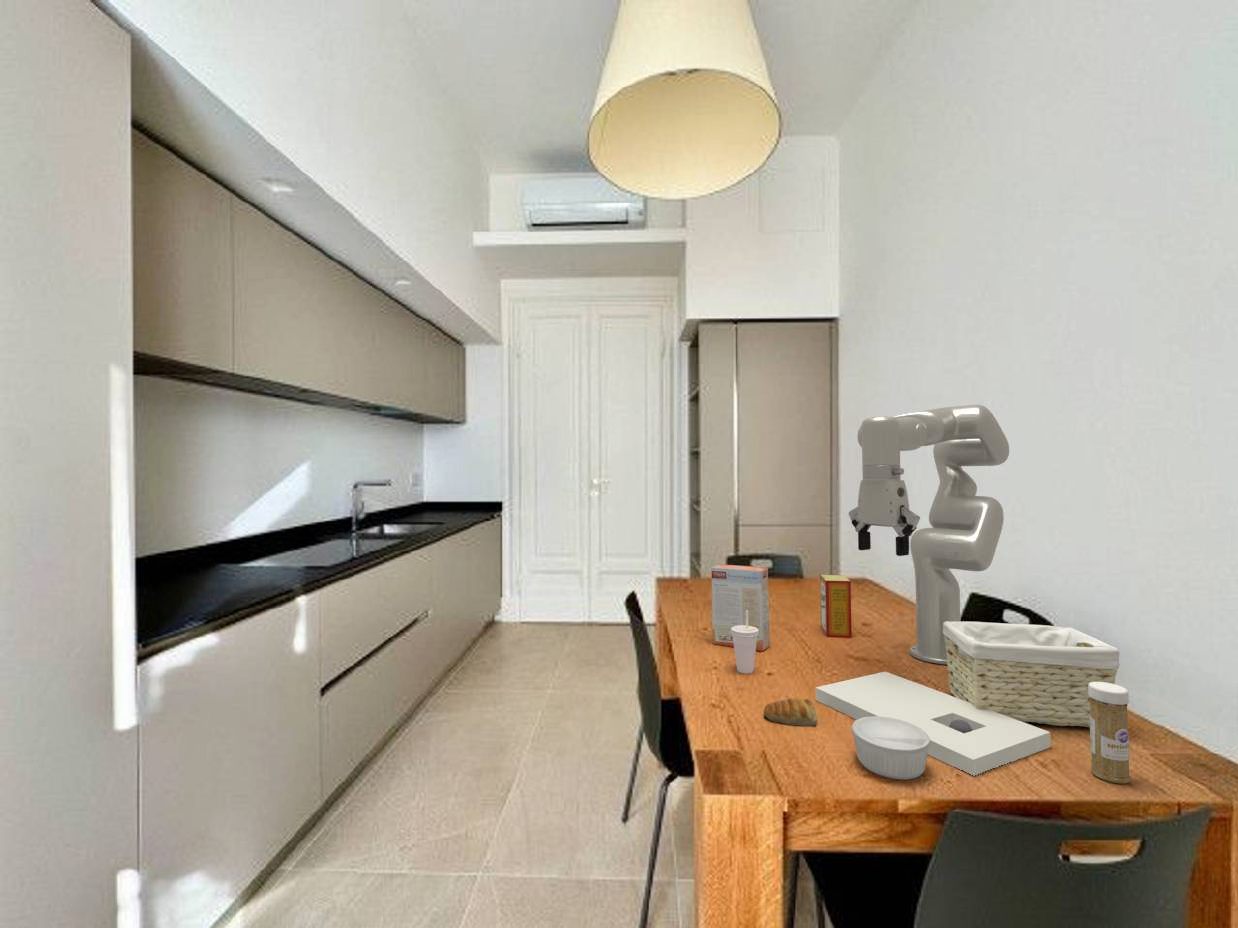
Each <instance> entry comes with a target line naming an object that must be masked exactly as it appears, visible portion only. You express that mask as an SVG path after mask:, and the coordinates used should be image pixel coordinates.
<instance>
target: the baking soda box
mask: <svg viewBox="0 0 1238 928" xmlns="http://www.w3.org/2000/svg"><path fill="white" fill-rule="evenodd" d="M819 587H820V588H819V589H820V591H819V592H820V595H819V596H820V597H819V598H820V628H822V629H821V630H822V631H823V634H824V636H826V638H837V639H839V638H840V639H841V638H842V639H852V590H851V589H852V585H851V580H850V579H849V578H847V576H845V575H844V574H819Z"/></svg>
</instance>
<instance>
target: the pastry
mask: <svg viewBox="0 0 1238 928" xmlns="http://www.w3.org/2000/svg"><path fill="white" fill-rule="evenodd" d="M814 703H815V702H814V701H813V699H810V698H809V697H807V698H805V699H803V698H797V697H796V698H793V697H789V698H787V699H783V700H780V701H779V700H777V701H776V700H775V701H773V702H771V703H768V704H766V705H765V706H764V709H763V714H764V716H765V717H766V718H767V719H768V720H769V721H771V722H775V723H776V722H777V723H781V724H785V725H789V726H792V725H793V726H801V727H802V726H804V727H807V726H808V727H812V726H816V725H817V723H818V716H817V712H816V709H815V704H814Z"/></svg>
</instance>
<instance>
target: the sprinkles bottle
mask: <svg viewBox="0 0 1238 928" xmlns="http://www.w3.org/2000/svg"><path fill="white" fill-rule="evenodd" d="M1088 695H1089V696H1090V697H1089V699H1090V727H1089V734H1090V735H1089V736H1090V737H1089V739H1090V744H1089V745H1090V752H1091V753H1090V754H1091V767H1090V772H1091V773H1092V774H1093V775H1094V776H1096V777H1097V778H1099V779H1101V780H1103V781H1106V782H1109V783H1114V784H1128V783H1130V781H1131V776H1130V763H1129V762H1130V739H1129V722H1128V717H1129V716H1128V704H1129V702H1130V701H1129V699H1130V698H1129V691H1128V689H1127V688H1125V687H1123V686H1121V685H1118V684H1115V683H1114V684H1111V683H1106V682H1090V683H1089V684H1088Z"/></svg>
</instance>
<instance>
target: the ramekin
mask: <svg viewBox="0 0 1238 928" xmlns="http://www.w3.org/2000/svg"><path fill="white" fill-rule="evenodd" d="M851 733H852V734H851V735H852V736H853V740H854V746H855V752H856V753H855V754H856V756H857V760H858V761H859V762H860V763H861V764H862V766H863V767H864V768H866V769H867V770H869V771H870V772H872V773H874V774H876V775H879V776H881V777H884V778H888V779H894V780H912V779H916V778H918V777H920V776H921V775H922V774H923V773H924V772H925V770H926V765H927V762H928V761H927V760H928V749H929V747H930V738H929V736H928V734H927V733H926V732H925V731H923V730H922V729H921V728H919V727H917V726H915V725H913V724H911V723H908V722H906V721H902V720H899V719H895V718H889V717H877V716H874V717H863V718H860V719H858V720H856V719H855V721H854V722H853V723H852V725H851Z"/></svg>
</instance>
